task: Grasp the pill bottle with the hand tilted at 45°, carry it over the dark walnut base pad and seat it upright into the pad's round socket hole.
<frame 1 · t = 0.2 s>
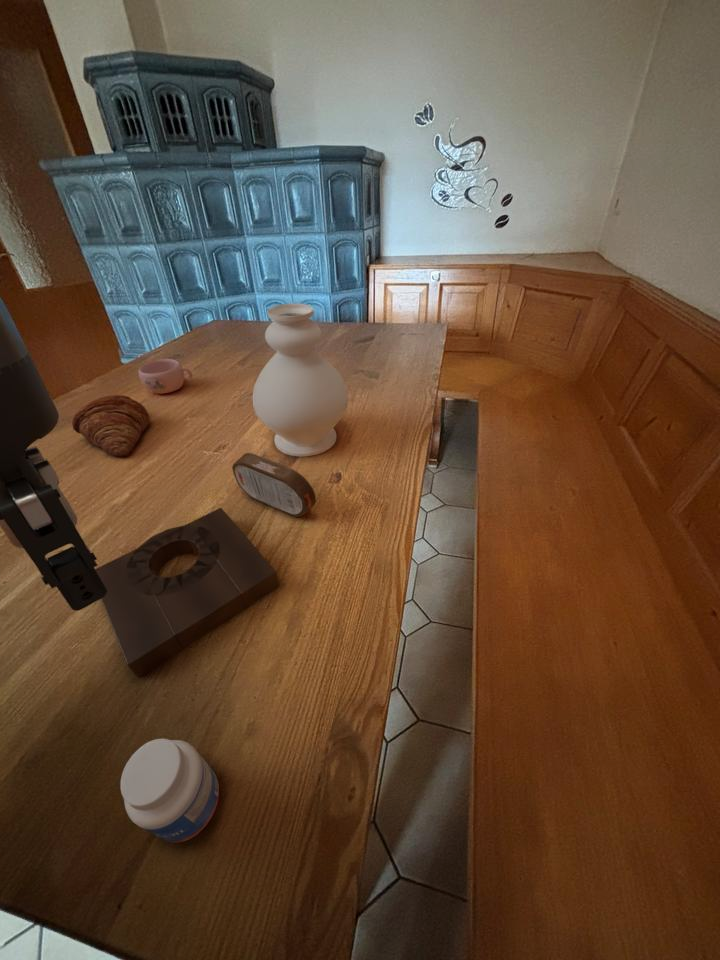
hand: (71, 569, 29), 19 cm above the table, tool pointing down, fingers open, 8 cm apart
decorative vase: (305, 439, 78), on the table
pastry: (120, 434, 81), on the table
tin: (276, 505, 63), on the table
pill bottle: (189, 802, 34), on the table
base pad: (189, 585, 51), on the table
mug: (171, 389, 97), on the table
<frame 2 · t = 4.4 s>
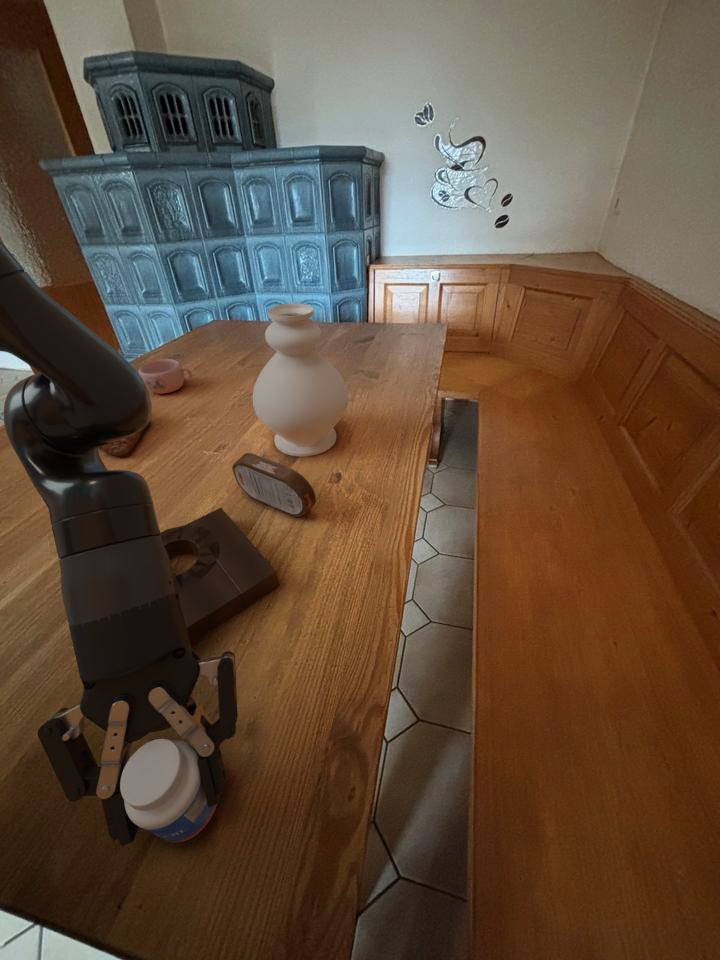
hand: (174, 815, 30), 4 cm above the table, tool tilted 45°, fingers closed on pill bottle, 5 cm apart
pill bottle: (189, 802, 34), on the table, touching gripper
everything else where it was.
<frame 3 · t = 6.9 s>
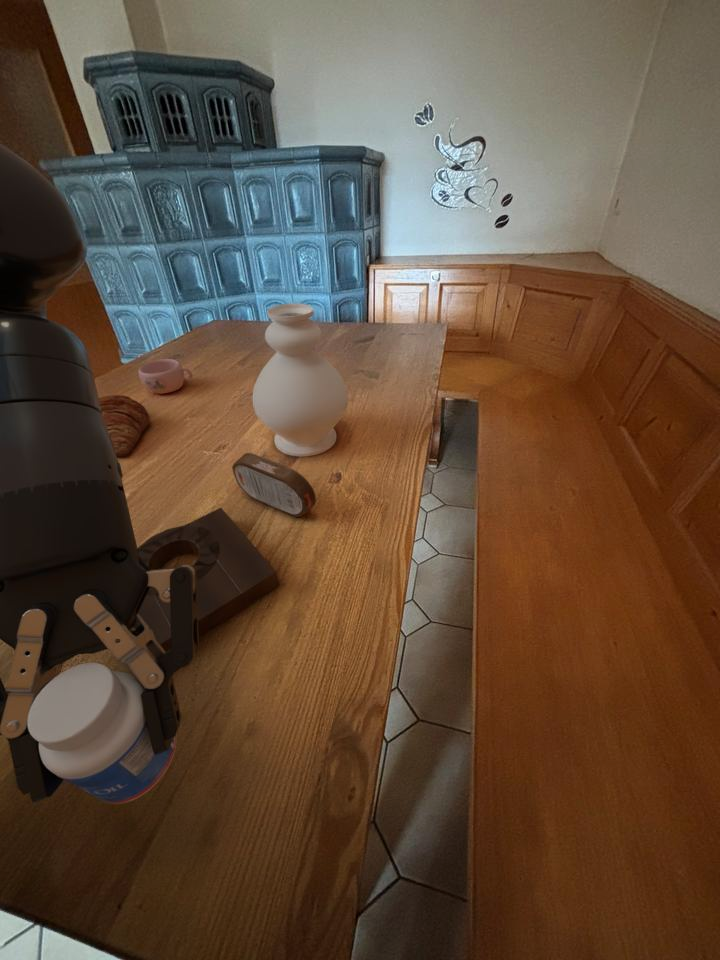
hand: (110, 766, 23), 16 cm above the table, tool tilted 45°, fingers closed on pill bottle, 5 cm apart
pill bottle: (138, 757, 27), point 11 cm above the table, touching gripper
everything else where it was.
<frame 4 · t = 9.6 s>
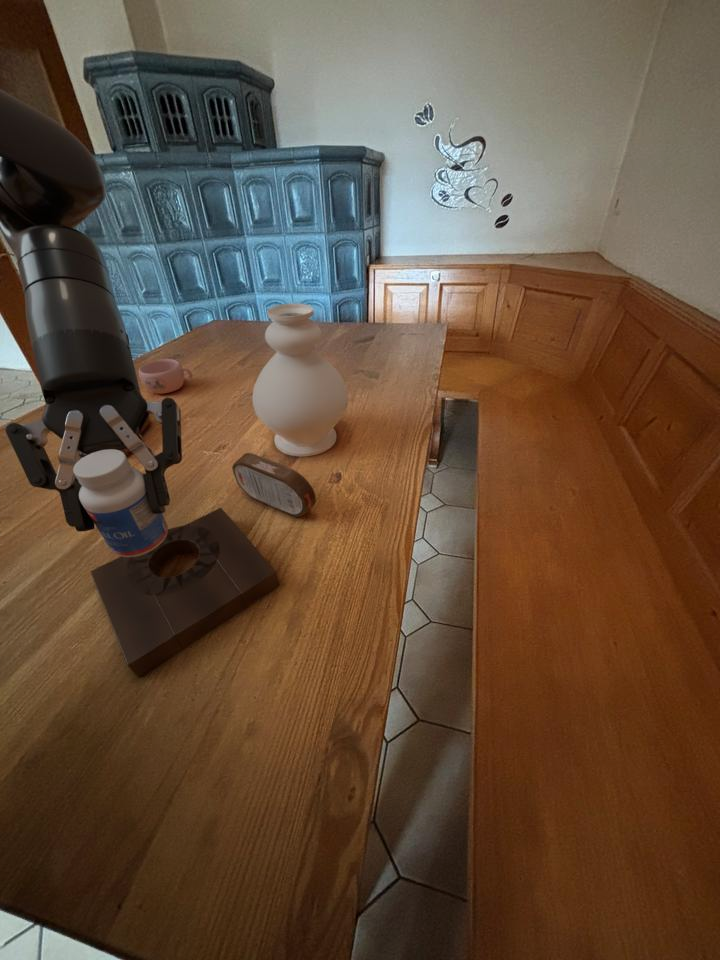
hand: (123, 520, 35), 18 cm above the table, tool tilted 45°, fingers closed on pill bottle, 5 cm apart
pill bottle: (142, 539, 39), point 14 cm above the table, touching gripper
everything else where it was.
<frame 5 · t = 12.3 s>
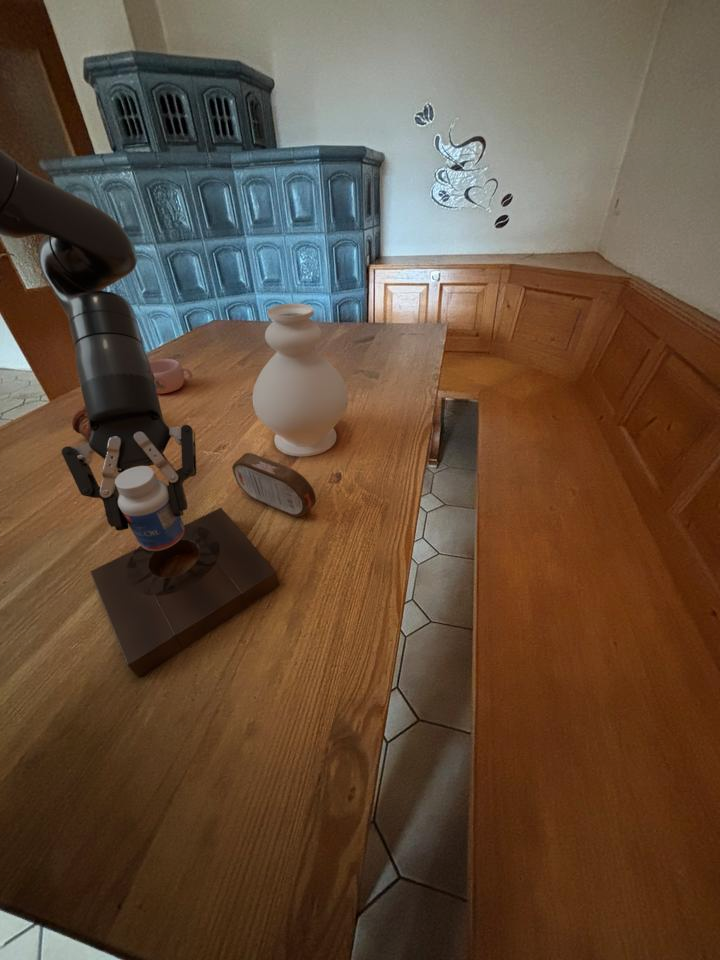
hand: (151, 521, 44), 11 cm above the table, tool tilted 45°, fingers closed on pill bottle, 5 cm apart
pill bottle: (163, 537, 48), point 7 cm above the table, touching gripper
everything else where it was.
when the fingers open (4 cm above the table, at t = 14.7 s): pill bottle stays where it is, resting in base pad.
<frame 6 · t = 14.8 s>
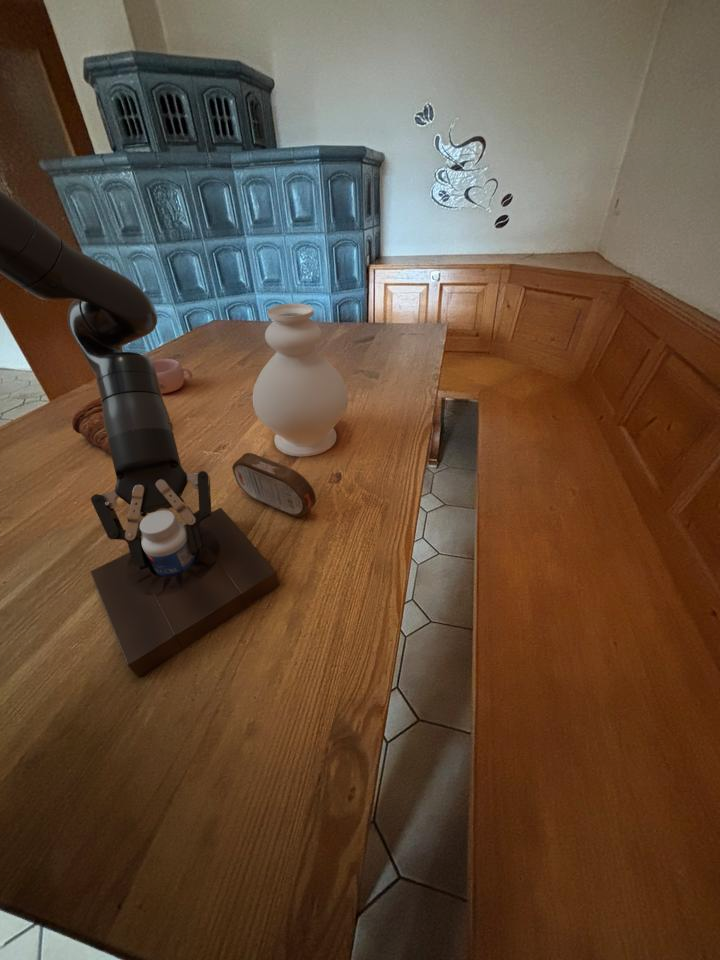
hand: (171, 560, 49), 4 cm above the table, tool tilted 45°, fingers open, 5 cm apart
pill bottle: (181, 571, 53), resting in base pad
everything else where it was.
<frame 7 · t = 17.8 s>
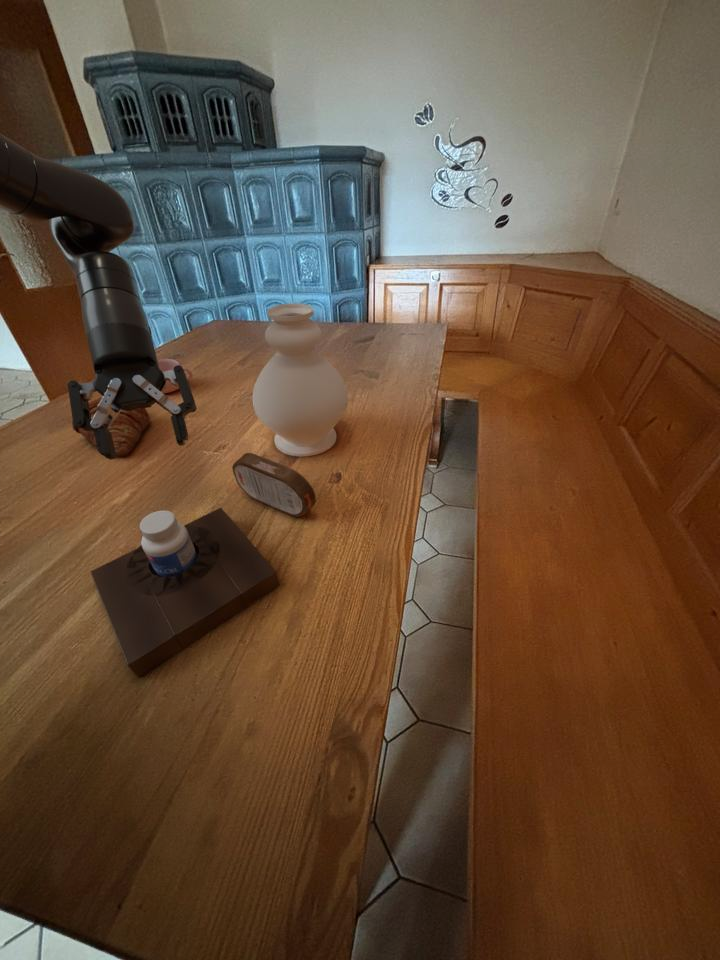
hand: (147, 451, 50), 14 cm above the table, tool tilted 45°, fingers open, 8 cm apart
nothing on the table moved.
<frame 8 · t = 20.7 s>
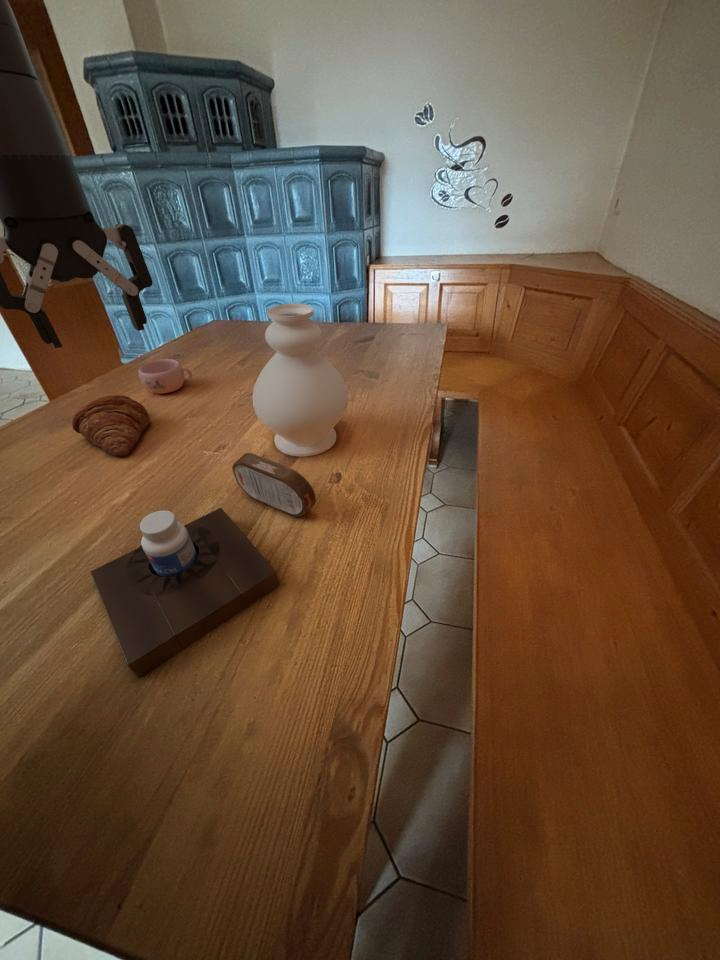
hand: (100, 337, 44), 28 cm above the table, tool pointing down, fingers open, 8 cm apart
nothing on the table moved.
at the end: pill bottle 0.2 cm from the target spot in the base pad, point 0.0 cm above the base pad's base; pill bottle tilted 0°; the gripper is holding nothing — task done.
